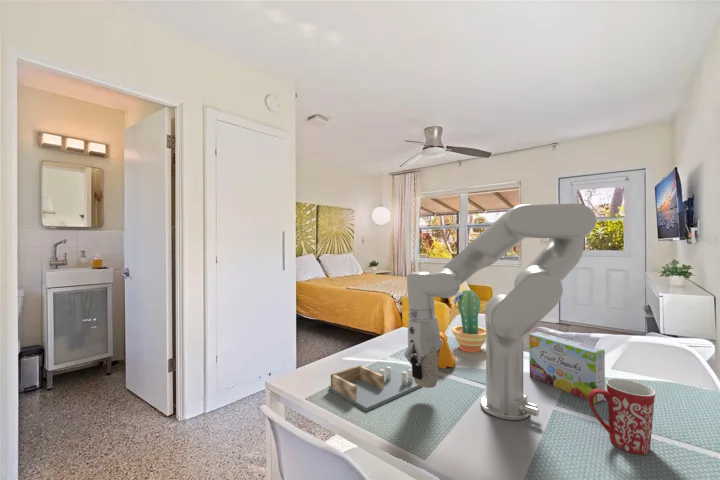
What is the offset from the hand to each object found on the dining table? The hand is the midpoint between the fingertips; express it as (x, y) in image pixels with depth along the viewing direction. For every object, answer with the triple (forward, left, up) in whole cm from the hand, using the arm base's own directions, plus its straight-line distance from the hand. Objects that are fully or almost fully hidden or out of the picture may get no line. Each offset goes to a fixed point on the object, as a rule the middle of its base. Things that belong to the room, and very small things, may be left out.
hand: (425, 373), depth 99 cm
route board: (+15, +6, -8) cm, 18 cm away
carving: (0, 0, -4) cm, 4 cm away
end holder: (+17, +12, -7) cm, 22 cm away
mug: (-43, -17, -8) cm, 47 cm away
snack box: (-24, -39, -8) cm, 46 cm away
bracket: (+14, -26, -8) cm, 31 cm away
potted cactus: (+16, -50, -8) cm, 53 cm away
